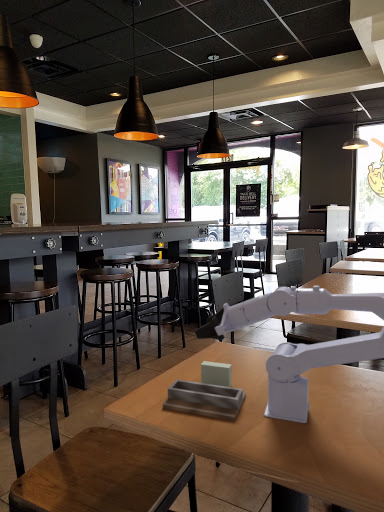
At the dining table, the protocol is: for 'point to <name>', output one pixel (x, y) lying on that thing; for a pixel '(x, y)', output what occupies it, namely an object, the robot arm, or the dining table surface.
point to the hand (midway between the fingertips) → (202, 328)
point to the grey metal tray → (204, 399)
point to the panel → (216, 373)
